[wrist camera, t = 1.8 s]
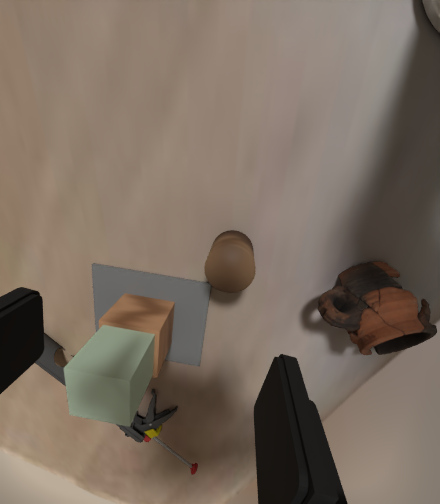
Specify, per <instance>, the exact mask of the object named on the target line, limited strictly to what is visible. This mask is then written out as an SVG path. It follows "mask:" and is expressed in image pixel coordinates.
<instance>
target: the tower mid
mask: <svg viewBox="0 0 440 504" xmlns="http://www.w3.org/2000/svg"><path fill="white" fill-rule="evenodd" d="M154 345H155V334H151V333H145V332H140V331H134V330H129V329H123V328H118V327H112V326H107V325H102V327H101V328H100V329H99V330H98V331H97V332H96V333H95V334H94V335H93V336H92V338H91V339H90V340H89V341H88V342H87V343H86V344H85V345H84V346H83V347H82V349H81V350H80V351H79V352H78V353H77V354H76V355H75V356H74V357H73V358H72V360H71V361H70V362H69V363H68V364H67V365H66V366H65V367H64V376H65V383H66V391H67V398H68V406H69V413H70V415H73V416H78V417H83V418H88V419H93V420H98V421H103V422H108V423H113V424H118V425H123V426H128V427H130V425H131V423H132V421H133V419H134V416H135V414H136V412H137V409H138V407H139V405H140V403H141V400H142V398H143V396H144V394H145V391H146V389H147V387H148V385H149V382H150V380H151V378H152V376H153V366H154Z"/></svg>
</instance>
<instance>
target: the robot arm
mask: <svg viewBox="0 0 440 504" xmlns="http://www.w3.org/2000/svg"><path fill="white" fill-rule="evenodd" d="M422 1H423V4H424V8H425V11H426V14H427V16H428V18H429V19H430V21H431V23H432V25H433V26H434V28H435V29H436V30H437V31H438V32H439V33H440V0H422ZM43 352H44V325H43V301H42V297H41V296H40V293H39V292H38V291H35V290H31V289H27V288H24V287H20V288H17V289H15V290H13V291H11V292H9V293H7V294H5V295H3V296H1V297H0V394H1V393H2V392H3V391H4V390H5V389H6V388H8V387H9V386H10V385H11V384H12V383H13V382H14V381H15V380H16V379H17V378H18V377H20V376H21V375H22V374H23V373H24V372H25V371H26V370H27V369H28V368H29V367H30V366H31V365H33V364H34V363H35V362H36V361H37V360H38V359H39V358H40V357H41V355H42V354H43ZM254 428H255V447H256V466H257V486H258V504H347V501H346V498H345V495H344V491H343V488H342V485H341V482H340V479H339V476H338V473H337V469H336V466H335V463H334V460H333V457H332V454H331V451H330V448H329V445H328V441H327V438H326V435H325V432H324V429H323V426H322V423H321V420H320V416H319V413H318V410H317V408H316V405H315V404H314V402H313V401H311V400H309V398H308V394H307V391H306V388H305V384H304V381H303V378H302V374H301V371H300V367H299V364H298V361H297V359H296V358H295V357H291V356H287V355H283V354H281V355H280V356H279V357H275V358H274V359H273V362H272V364H271V367H270V369H269V371H268V374H267V376H266V379H265V381H264V383H263V386H262V388H261V391H260V393H259V395H258V398H257V400H256V403H255V406H254Z"/></svg>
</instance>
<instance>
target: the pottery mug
mask: <svg viewBox="0 0 440 504" xmlns="http://www.w3.org/2000/svg"><path fill="white" fill-rule="evenodd" d="M399 276H400V274H399V273H398V272H397V271H396V270H395V269H393V268H392V267H390V266H389V265H388V264H387V263H384V262H368V263H363V264H359V265H356V266H353V267H351V268H349V269H347V270H345V271H344V272H342V273H341V274H339V279H340V280H341V284H342V287H341V286H336V287H334V288H333V289H332V290H329V291H327V292H325V293H324V294H323V295H322V296H321V298H320V300H319V307H318V310H319V312H320V314H321V316H322V317H323V319H324V320H325V321H326V322H327V323H329V324H330V325H333V326H336V327H340V328H345V329H346V330H347V331H348V334H350V340H351V341H352V342H353V343H354V344H357V346H358V347H359V351H360V353H361V354H363V355H371V354H372V352H371V350H370V349H371V348H372V347H374V348H375V350H376V352H377V354H379V355H382V354H388V353H392V352H397V351H400V350H404V349H407V348H410V347H412V346H415V345H418V344H420V343H422V342H424V341H426V340H428V339H430V338H431V337H433V336H434V335H435V334H436V333H437V329H436V325H431V324H430V323H429V320H430V308H429V303H428V302H427V301H426V300H425V299H422V300H421V304H422V307H421V311H420V312H419V313H418V304H417V299H416V297H415V296H414V295H413V294H412V293H411V292H410V291H407V290H403V289H402V287H401V286H400V285H399V284H398V283H397V282H396V281H394V279H393V278H391V277H397V278H398V277H399ZM359 300H361V301H363V302H364V303H365V304H366V305H367V306H368V307H367V308H364V309H363V310H361V309H360V308H359V307H358V302H359Z"/></svg>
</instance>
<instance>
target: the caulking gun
mask: <svg viewBox="0 0 440 504" xmlns="http://www.w3.org/2000/svg"><path fill="white" fill-rule="evenodd" d="M58 348H62V347H61V346H60V345H58V344H57V343H56V342H55V341H53V340H52V339H51V338H50V337H48V336H47V335H46V334H45V333H44V352H43V354H42V355H41V357H40V358H39V359H38V360H37V361H36V362H35V363H36V364H37V365H39V366H40V367H41V368H42V369H44V370H45V371H46V372H48V373H49V374H50V375H52V376H53V377H54V378H56V379H57V380H58V381H60V382H61V383H62V384H63V385H65V386H66V383H65V376H64V367H60V366H57V365H56V364H55V362H54V354H55V351H56V350H57V349H58ZM62 349H63V348H62ZM64 350H65V349H64ZM71 356H72V355H71ZM154 390H155V389H152V391H151V393H152V394H153V398H152V400H151V402H150V405H149V408H148V413H147V415H146V419H141V418H139V417H138V416H137V413H138V411H137V412H136V414H135V416H134V419H133V421H132V423H131V425H130V427H128V426H123V425H118V424H116V425H117V426H119V427H120V429H121V430H122V431H124V432H125V436H127V437H131V438H133V439H134V440H135V441H137V442H140V443H141V442H143V440H144V441H145V442H148V441H150V440H151V438H153V439H154V440H155V441H157V442H158V443H159V444H161V445H162V446H163V447H164V448H166V449H167V450H168V451H170V452H171V453H172V454H173V455H175V456H176V457H177V458H179V459H180V460H181V461H183V462H184V463H185V464H186V465H188V466H189V467H190V469H191V474H192V475H193V474H195V472H196V471H197V468H198V464H197V463H195V464H192V465H191V464H190V463H189V462H187V461H186V460H185V459H184V458H182V457H181V456H180V455H178V454H177V453H176V452H175V451H173V450H172V449H171V448H169V447H168V446H167V445H166V444H164V443H163V442H162V441H161V440H159V439H158V438H157V437H155V436H158V435H159V433H160V431H161V428H162V423H164V422H165V421H166V420H168V419H169V418H170V417H171V416H172V415H173V414H174V413H175V412H176V411H177V407H178V406H177V407H176V408H175V409H174V410H172V411H171V410H169V409H168V410H166V411H164V412H162V413H160V414H158V415H155V403H156V395H155V394H154Z"/></svg>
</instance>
